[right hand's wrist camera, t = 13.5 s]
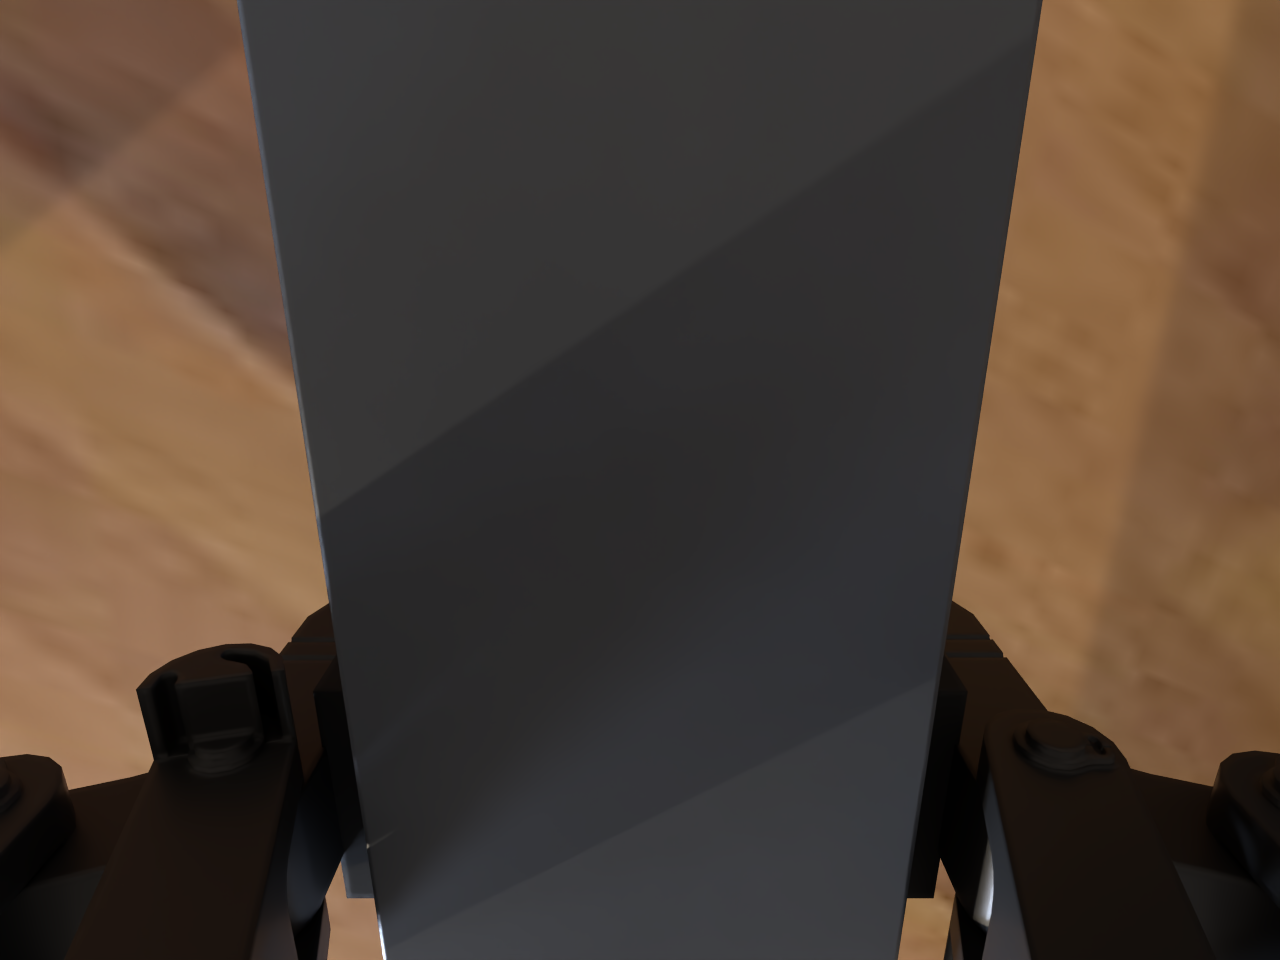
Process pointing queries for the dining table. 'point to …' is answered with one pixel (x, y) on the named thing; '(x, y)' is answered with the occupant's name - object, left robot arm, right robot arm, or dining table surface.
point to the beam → (640, 444)
